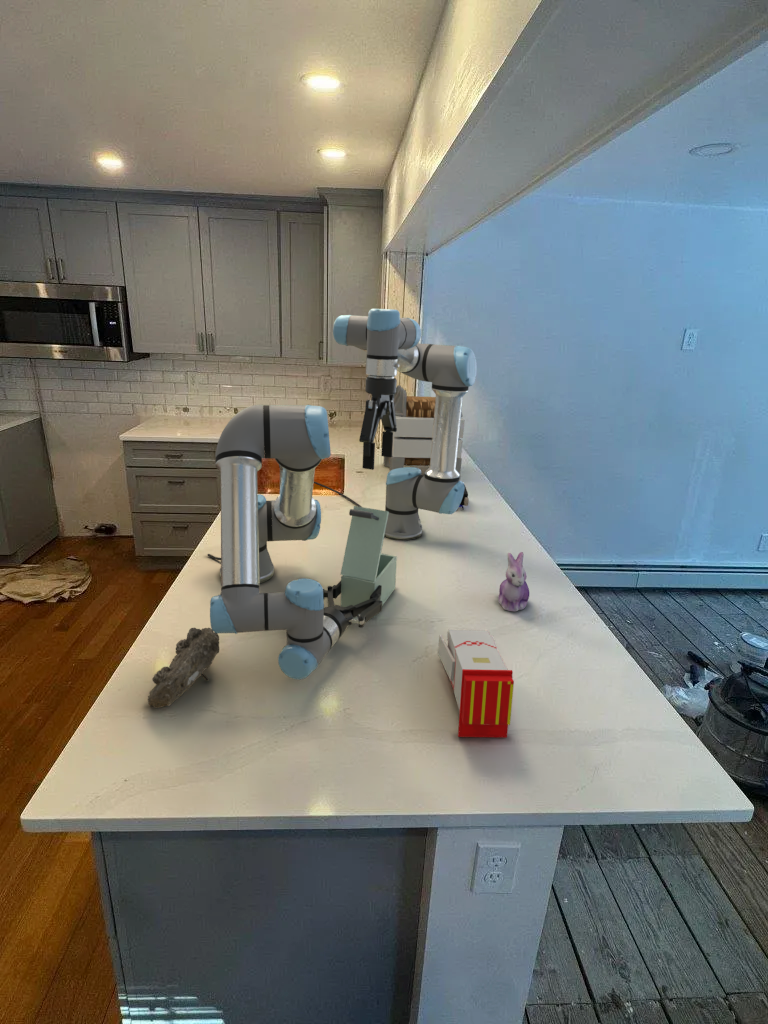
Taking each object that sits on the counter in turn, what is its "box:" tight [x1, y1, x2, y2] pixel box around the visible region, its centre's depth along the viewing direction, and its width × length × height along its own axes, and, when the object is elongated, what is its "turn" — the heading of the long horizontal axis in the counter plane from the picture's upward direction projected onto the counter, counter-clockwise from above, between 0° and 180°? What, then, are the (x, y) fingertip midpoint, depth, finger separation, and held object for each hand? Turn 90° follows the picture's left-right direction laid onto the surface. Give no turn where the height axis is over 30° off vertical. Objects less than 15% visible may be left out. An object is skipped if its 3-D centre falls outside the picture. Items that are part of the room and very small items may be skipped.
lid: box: [340, 505, 389, 581], centre depth 140 cm, size 18×9×8 cm
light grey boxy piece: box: [383, 384, 465, 481], centre depth 268 cm, size 34×33×41 cm
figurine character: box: [458, 484, 470, 511], centre depth 230 cm, size 7×8×15 cm
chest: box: [340, 552, 398, 619], centre depth 152 cm, size 17×9×10 cm, turn 160°
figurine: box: [497, 551, 530, 612], centre depth 152 cm, size 9×10×15 cm
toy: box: [437, 628, 515, 738], centre depth 117 cm, size 12×13×30 cm
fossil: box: [147, 627, 220, 709], centre depth 117 cm, size 22×10×15 cm
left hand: (362, 586), depth 147 cm, fingers closed on chest, 9 cm apart
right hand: (377, 462), depth 144 cm, fingers open, 13 cm apart
